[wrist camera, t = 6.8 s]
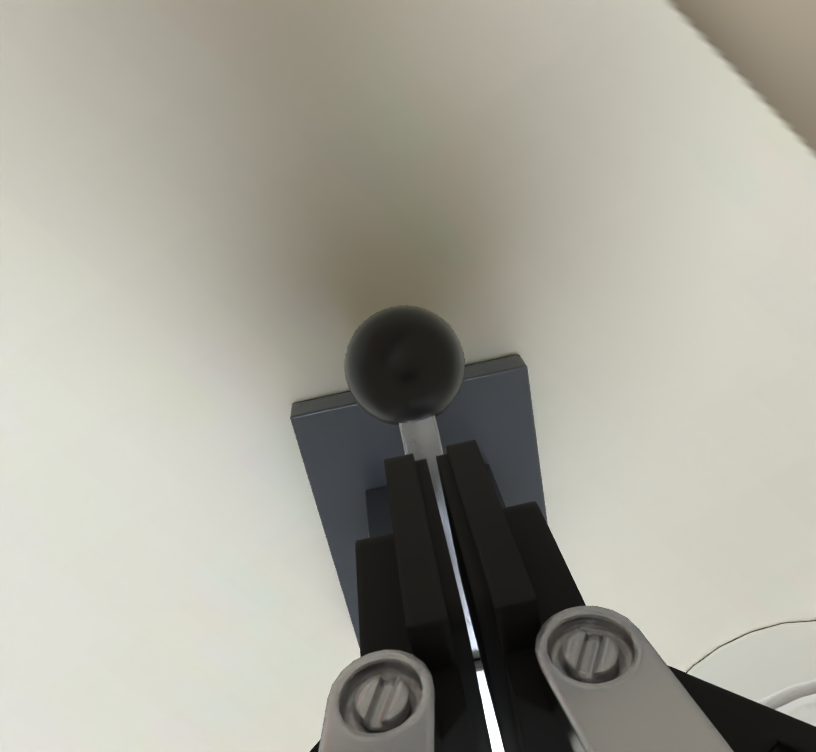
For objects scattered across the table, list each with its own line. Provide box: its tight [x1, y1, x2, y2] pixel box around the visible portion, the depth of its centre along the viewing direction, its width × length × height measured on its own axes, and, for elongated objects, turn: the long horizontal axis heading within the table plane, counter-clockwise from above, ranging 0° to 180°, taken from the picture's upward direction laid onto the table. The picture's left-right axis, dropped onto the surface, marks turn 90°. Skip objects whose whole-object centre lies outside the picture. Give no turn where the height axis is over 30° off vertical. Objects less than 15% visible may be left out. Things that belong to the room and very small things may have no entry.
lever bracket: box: [290, 355, 548, 647], centre depth 23 cm, size 12×9×12 cm
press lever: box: [345, 306, 504, 752], centre depth 20 cm, size 13×4×4 cm
